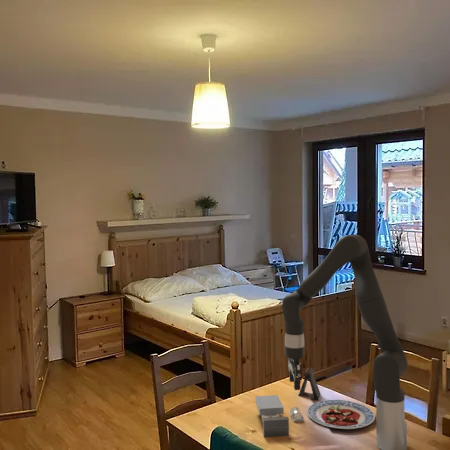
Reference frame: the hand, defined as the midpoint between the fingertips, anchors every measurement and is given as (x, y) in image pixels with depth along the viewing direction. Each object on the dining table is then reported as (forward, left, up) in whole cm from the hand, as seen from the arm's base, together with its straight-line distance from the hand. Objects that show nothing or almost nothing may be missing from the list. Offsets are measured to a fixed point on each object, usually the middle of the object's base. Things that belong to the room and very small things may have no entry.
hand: (294, 385), depth 193 cm
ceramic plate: (-18, 0, -14) cm, 23 cm away
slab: (+10, -1, -9) cm, 13 cm away
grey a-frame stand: (-11, -22, -14) cm, 28 cm away
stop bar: (+10, +13, -14) cm, 21 cm away
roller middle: (+10, +2, -13) cm, 16 cm away
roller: (0, 0, -14) cm, 14 cm away
